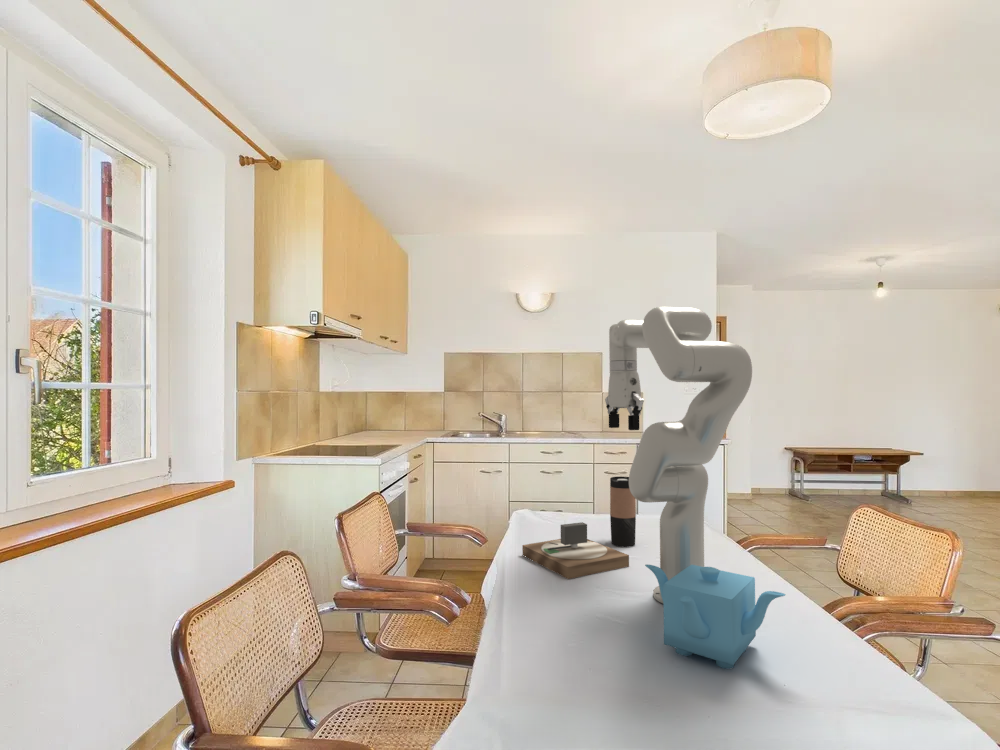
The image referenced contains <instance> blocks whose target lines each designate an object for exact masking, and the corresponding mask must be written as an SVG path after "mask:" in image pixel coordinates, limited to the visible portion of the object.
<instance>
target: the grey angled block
mask: <svg viewBox="0 0 1000 750" xmlns="http://www.w3.org/2000/svg"><path fill="white" fill-rule="evenodd" d="M560 539H561V543H562V544H564V545H569V546H562V547H554V548H548V550H554V549H562V548H570V547H571V548H577V547H578V544H579V543H587V539H588V523H585V522H582V521H581V522H575V523H574V522H573V523H565V524H560Z"/></svg>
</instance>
